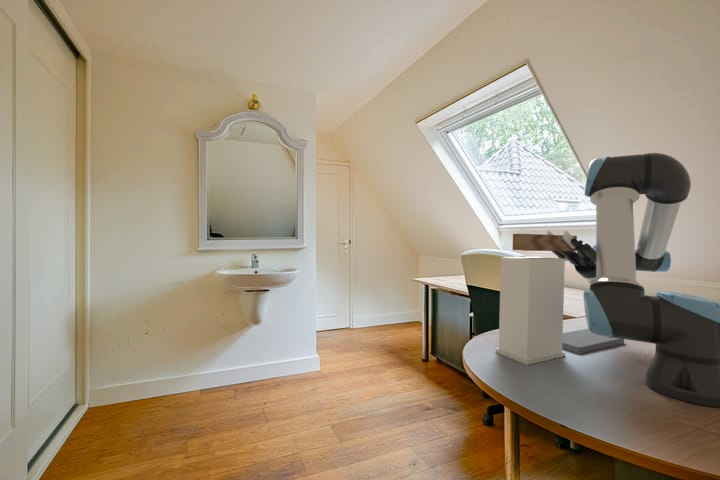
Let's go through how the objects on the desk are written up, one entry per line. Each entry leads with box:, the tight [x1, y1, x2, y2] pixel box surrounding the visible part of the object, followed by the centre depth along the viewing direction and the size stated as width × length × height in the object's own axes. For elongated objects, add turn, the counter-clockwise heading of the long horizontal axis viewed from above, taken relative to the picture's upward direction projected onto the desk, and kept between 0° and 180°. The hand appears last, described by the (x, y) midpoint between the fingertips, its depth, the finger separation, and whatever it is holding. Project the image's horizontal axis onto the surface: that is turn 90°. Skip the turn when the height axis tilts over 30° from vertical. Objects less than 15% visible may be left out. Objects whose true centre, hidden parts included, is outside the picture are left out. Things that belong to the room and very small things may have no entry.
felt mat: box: [562, 328, 625, 355], centre depth 116 cm, size 26×12×2 cm, turn 116°
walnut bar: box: [512, 233, 578, 252], centre depth 106 cm, size 24×5×5 cm, turn 116°
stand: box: [495, 256, 566, 366], centre depth 104 cm, size 17×11×30 cm, turn 116°
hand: (555, 234), depth 108 cm, fingers closed on walnut bar, 5 cm apart
